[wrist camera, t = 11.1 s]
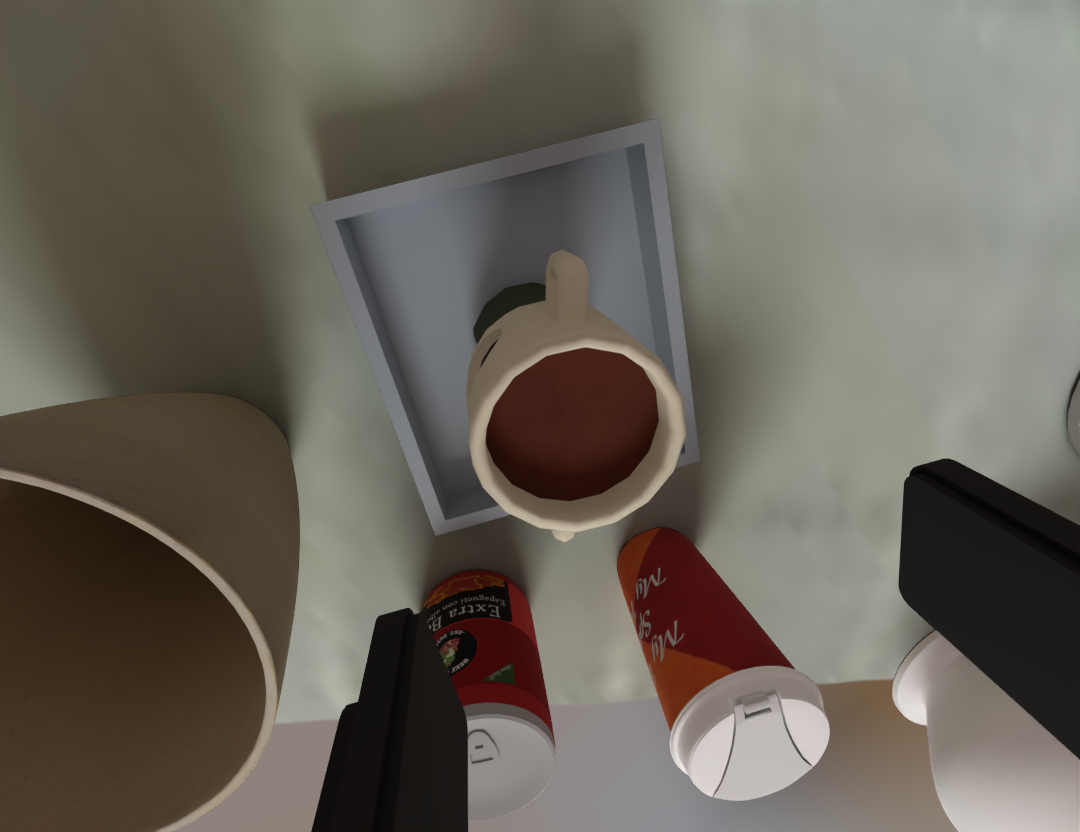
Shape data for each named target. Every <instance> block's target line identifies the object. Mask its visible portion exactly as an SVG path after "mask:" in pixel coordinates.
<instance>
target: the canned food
mask: <svg viewBox="0 0 1080 832" xmlns="http://www.w3.org/2000/svg"><path fill="white" fill-rule="evenodd" d="M420 613H422V614H423V615H424V616H425V618H426V621H427V623H428V625H429V628H430V630H431V633H432V635H433V637H434V640H435V642H436V644H437V647H438V649H439V651H440V654H441V656H442V659H443V661H444V663H445V666H446V668H447V670H448V673H449V675H450V678H451V680H452V682H453V685H454V687H455V689H456V692H457V694H458V696H459V699H460V701H461V704H462V706H463V708H464V711H465V715H466V719H467V726H468V822H473V821H474V822H477V821H485V820H491V819H496V818H499V817H502V816H506V815H508V814H511V813H513V812H515V811H517V810H520V809H521V808H523V807H524V806H526V805H528V804H529V803H531V802H532V801H533V800H534V799H535V798H537V797H538V796H539V795H540V794H541V793H542V792H543V790H544V789H545V788H546V787H547V786H548V784H549V782H550V780H551V778H552V776H553V774H554V770H555V766H556V753H555V741H554V735H553V728H552V721H551V716H550V711H549V705H548V700H547V694H546V689H545V684H544V678H543V673H542V667H541V662H540V657H539V651H538V646H537V641H536V635H535V630H534V624H533V619H532V614H531V610H530V606H529V603H528V601H527V600H526V598H525V596H524V594H523V593H522V591H521V590H520V589H519V588H518V586H517V585H516V584H515V583H514V582H512V581H511V580H510V579H508V578H507V577H505V576H502V575H500V574H498V573H494V572H490V571H481V570H475V571H466V572H462V573H459V574H456V575H453V576H451V577H449V578H447V579H445V580H444V581H443V582H441V583H440V584H438V585H437V586H436V587H435V588H434V589H433V590H432V592H431V593H430V595H429V596H428V598H427V599H426V601H425V603H424V605H423V607H422V610H421V612H420Z"/></svg>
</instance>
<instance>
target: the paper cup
mask: <svg viewBox="0 0 1080 832" xmlns="http://www.w3.org/2000/svg"><path fill="white" fill-rule="evenodd" d="M617 571H618V576H619V580H620V583H621V587H622V590H623V593H624V596H625V599H626V602H627V605H628V608H629V611H630V614H631V617H632V620H633V623H634V626H635V629H636V632H637V635H638V638H639V641H640V644H641V647H642V650H643V653H644V656H645V659H646V662H647V665H648V668H649V670H650V673H651V676H652V679H653V682H654V685H655V688H656V691H657V694H658V697H659V700H660V702H661V705H662V709H663V712H664V714H665V717H666V720H667V723H668V726H669V729H670V732H671V734H670V740H669V742H670V751H671V754H672V758H673V759H674V761H675V763H676V764H677V766H678V767H679V768H680V769H681V770H682V771H684V773H686V774H687V775H689V776H690V778H691V780H692V782H693V783H694V784H695V785H696V786H697V787H698V788H699V789H700V790H701V791H702V792H703V793H705V794H707V795H708V796H710V797H714V798H719V799H724V800H732V801H736V800H737V801H742V800H750V799H755V798H758V797H762V796H766V795H769V794H771V793H774V792H776V791H779V790H781V789H783V788H785V787H787V786H788V785H790V784H792V783H794V782H795V781H796V780H797V779H799V778H800V777H801V776H803V775H804V774H805V773H806V772H808V771H809V770H810V769H811V768H812V767H813V766H814V765H815V764H816V763H817V762H818V760H819V759H820V758H821V756H822V754H823V753H824V751H825V749H826V747H827V743H828V740H829V733H830V731H829V722H828V719H827V716H826V713H825V711H824V709H823V701H822V696H821V693H820V690H819V688H818V687H817V685H816V684H815V683H814V681H813V680H812V679H810V678H809V677H808V676H807V675H805V674H804V673H802V672H800V671H798V670H796V669H795V668H794V667H793V666H792V665H791V663H790V662H789V661H788V660H787V658H786V657H785V656H784V655H783V654H782V652H781V651H780V650H779V649H778V647H777V646H776V645H775V644H774V642H773V641H772V640H771V639H770V638H769V636H768V635H767V634H766V633H765V631H764V630H763V629H762V628H761V626H760V625H759V624H758V623H757V622H756V620H755V619H754V618H753V617H752V615H751V614H750V613H749V612H748V610H747V609H746V608H745V607H744V606H743V604H742V603H741V602H740V601H739V599H738V598H737V597H736V596H735V595H734V593H733V592H732V591H731V590H730V588H729V587H728V586H727V585H726V584H725V582H724V581H723V580H722V579H721V577H720V576H719V575H718V574H717V573H716V571H715V570H714V569H713V568H712V566H711V565H710V564H709V563H708V562H707V560H706V559H705V558H704V557H703V556H702V554H701V553H700V552H699V551H698V550H697V549H696V547H695V546H694V545H693V544H692V543H691V542H690V541H689V540H688V539H687V538H686V537H685V536H684V535H683V534H682V533H680V532H678V531H676V530H674V529H670V528H653V529H649V530H646V531H644V532H641V533H640V534H638V535H636V536H635V537H633V538H632V539H631V540H630V541H629V542H628V543H627V544H626V545H625V546H624V547H623V549H622V551H621V552H620V555H619V557H618V561H617ZM811 764H812V765H813V766H812V765H811Z"/></svg>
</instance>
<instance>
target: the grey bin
mask: <svg viewBox="0 0 1080 832" xmlns="http://www.w3.org/2000/svg"><path fill="white" fill-rule="evenodd" d="M309 207H310V209H311V212H312V214H313V217H314V220H315V222H316V225H317V227H318V230H319V233H320V235H321V238H322V241H323V243H324V246H325V248H326V251H327V254H328V256H329V259H330V261H331V264H332V267H333V269H334V272H335V275H336V277H337V280H338V282H339V285H340V288H341V290H342V293H343V295H344V298H345V301H346V303H347V306H348V309H349V311H350V314H351V316H352V319H353V322H354V324H355V327H356V329H357V332H358V335H359V337H360V340H361V343H362V345H363V348H364V350H365V353H366V356H367V358H368V361H369V363H370V366H371V369H372V371H373V374H374V376H375V379H376V382H377V384H378V387H379V390H380V392H381V395H382V397H383V400H384V403H385V405H386V408H387V410H388V413H389V416H390V418H391V421H392V424H393V426H394V429H395V431H396V434H397V437H398V439H399V442H400V444H401V447H402V450H403V452H404V455H405V458H406V460H407V463H408V465H409V468H410V471H411V473H412V476H413V478H414V481H415V484H416V486H417V489H418V492H419V494H420V497H421V499H422V502H423V505H424V507H425V510H426V512H427V515H428V518H429V520H430V523H431V525H432V528H433V531H434V533H435V536H438V535H441V534H445V533H448V532H452V531H456V530H459V529H463V528H466V527H470V526H473V525H477V524H480V523H484V522H487V521H491V520H494V519H498V518H502V517H505V516H509V515H511V514H509V513H507V512H506V511H505V510H504V509H503V508H502V507H501V506H500V505H499V504H498V503H497V502H496V501H495V500H494V499H493V498H492V497H491V496H490V495H489V493H488V492H487V491H486V490H485V489H484V488H483V487H482V485H481V482H480V480H479V478H478V475H477V473H476V471H475V469H474V466H473V463H472V457H471V452H470V446H469V430H468V414H467V396H466V388H467V372H468V368H469V365H470V361H471V355H472V352H473V350H474V349H475V347H476V346H477V342H476V340H475V337H474V333H473V328H474V325H475V323H476V321H477V319H478V317H479V315H480V313H481V311H482V309H483V307H484V305H485V304H486V303H488V302H489V301H490V300H491V299H492V298H494V297H495V296H496V295H497V294H499V293H500V292H501V291H502V290H503V289H505V288H507V287H511V286H516V285H521V284H526V283H531V282H535V283H540V284H544V285H546V267H547V263H548V261H549V258H550V256H551V254H552V253H555V252H557V251H559V250H561V249H562V250H564V251H567V252H569V253H571V254H573V255H575V256H577V257H579V258H581V259H583V260H584V262H585V264H586V267H587V270H588V274H589V291H588V304H589V305H591V306H592V307H594V308H595V309H596V310H598V311H599V312H601V313H602V314H604V315H605V316H606V317H608V318H609V319H611V320H612V321H614V322H615V323H616V324H618V325H619V326H620V327H621V328H623V329H624V330H625V331H626V332H628V333H629V334H630V335H631V336H632V337H634V338H635V339H636V340H637V341H639V342H640V343H641V344H642V345H643V346H645V347H646V348H647V349H648V350H650V351H651V352H652V353H653V354H654V355H656V356H657V357H658V358H659V359H660V360H661V361H662V363H663V364H664V366H665V367H666V369H667V371H668V373H669V374H670V376H671V378H672V379H673V381H674V383H675V385H676V386H677V388H678V390H679V391H680V393H681V395H682V397H683V403H684V415H685V427H686V437H685V440H684V443H683V446H682V449H681V452H680V454H679V457H678V460H677V463H676V466H675V468H678V467H682V466H685V465H689V464H692V463H696V462H700V453H699V445H698V437H697V428H696V420H695V412H694V404H693V396H692V388H691V379H690V371H689V363H688V355H687V347H686V339H685V330H684V322H683V314H682V306H681V298H680V290H679V281H678V273H677V265H676V257H675V249H674V241H673V232H672V224H671V216H670V208H669V200H668V192H667V183H666V175H665V167H664V159H663V151H662V143H661V134H660V126H659V118H657V119H653V120H649V121H645V122H641V123H637V124H633V125H629V126H625V127H621V128H617V129H613V130H609V131H605V132H601V133H597V134H593V135H589V136H585V137H581V138H577V139H573V140H569V141H565V142H561V143H557V144H553V145H549V146H545V147H541V148H537V149H533V150H529V151H525V152H521V153H517V154H513V155H509V156H506V157H502V158H498V159H494V160H490V161H486V162H482V163H478V164H474V165H470V166H466V167H462V168H458V169H454V170H450V171H446V172H442V173H438V174H434V175H430V176H426V177H422V178H418V179H414V180H410V181H406V182H402V183H398V184H394V185H390V186H386V187H382V188H378V189H374V190H370V191H366V192H362V193H358V194H354V195H350V196H346V197H342V198H338V199H334V200H330V201H326V202H322V203H318V204H314V205H310V206H309Z"/></svg>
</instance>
